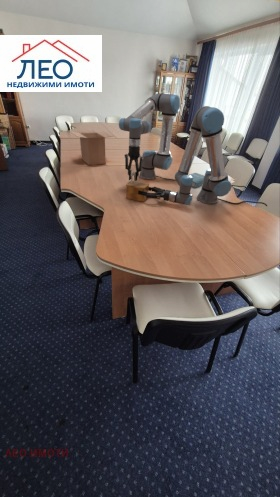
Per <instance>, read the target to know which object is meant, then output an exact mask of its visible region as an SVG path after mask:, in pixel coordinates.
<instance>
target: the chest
mask: <svg viewBox="0 0 280 497" xmlns="http://www.w3.org/2000/svg"><path fill="white" fill-rule="evenodd" d="M149 187H150V184H149V185H148V186H147V187H146V188H145V189H139V188H134V187H129V186H126V199H129V200H133V201H138V202H141V203H144V202H145V201H146V200H147V199H148V198H146V196H144V195H139V194H138V190H139V191H144V192H148V193H149V191H148V188H149Z"/></svg>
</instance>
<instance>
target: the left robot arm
mask: <svg viewBox="0 0 280 497" xmlns="http://www.w3.org/2000/svg"><path fill="white" fill-rule="evenodd" d="M180 110H181V98H180V96H179V95H178V94H174V93H162V92H160V93H159V92H158V93H155V94H153V95H151V96H149V97H148V98H147V99H146V100H145V101H144V103H143V104H142V105H141V106H139V107H138V108H137V109H136V110H134V111H133V112H132V113H131V114H129V115H128V116H127V117H126V118H125V117H121V118H119V120H118V128H119V130H120V131H124V132H129V134H128V153H125V154H124V159H125V160H124V161H125V162H124V165H125V170H127V175H128V181H131V174H132V169H131V168H132V165H133V161H134V163H135V164H134V165H135V171H134V172H135V182H138V177H139V178H140V179H142V180H146V181H154V180H156V178H160V179H162V180H166V181H173V182H174V181H175V182H176V180H175V178H174V179H173V178H167V177H162V176H160V175H159V176H158V175H157V174H156V169H160V170H164V171H167V170H169V169H170V168H171V166H172V164H173V156H172V153H171V151H170V150H171V149H170V148H171V142H172V134H173V126H174V119H175V118H176V117H177V114H179V112H180ZM154 112H160V115H161V117H162V122H161V129H160V140H159V147H158V148H159V149H158V150H153V149H151V150H150V149H149V150H145V151H143V152H142V155H141V137H142V136H141V135H146V134H148V133H150V132H151V129H152V124H151V122H150V121H148V120H144V119H145V118H146V117H148V115H150V114H153V113H154ZM231 185H232V187H237V188H244V189H247V187H246V186H245V185H235V184H231Z"/></svg>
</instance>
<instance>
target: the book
mask: <svg viewBox="0 0 280 497" xmlns="http://www.w3.org/2000/svg"><path fill="white" fill-rule="evenodd" d="M188 175H189V176H192V177H193V183H192V186H191V188H193V189H195V188H198V187H200V186H202V185H203V181H204V177H205V174H201V173H198V172H193V173H190V174H188Z"/></svg>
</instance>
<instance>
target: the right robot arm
mask: <svg viewBox="0 0 280 497" xmlns="http://www.w3.org/2000/svg"><path fill="white" fill-rule="evenodd" d="M224 123H225V115H224V113H223V111H222V110H221V109H219V108H217V107H215V106H213V107H212V106H209V105H203V106H202V107H200V108H199V109H198V110H197V111H196V112H195V115H194V116H193V119H192V122H191V125H190V128H189V129H190V133H189V137H188V139H187V143H186V146H185V148H184V152H183V155H182V158H181V161H180V164H179V167H178V170H177V171H176V173H175V174H174V180H176V181H175V182H176V183H177V184H178V186H179V190H178V191H174V190H169V189H164V188H160V187H157V186H149V188H148V192H144V191H139V190H138V194H139V195H144V196H146V198H147V199H154V200H161V199H163V201H166V202H170V203H172V204H173V203H175V204H180V205H184V206H191V204H192V202H193V198H194V197H193V194H191V191H192V187H191V186H192V183H193V177H192V176H189V175H190V174H189V173H190V170H191V167H192V165H193V161H194V159H195V157H196V155H197V154H196V153H197V150H198V148H199V145H200V142H201V139H202V138H203V139H204V140H205V141H204V142H205V146H206V153H207V158H208V164H209V169H206V170H205V173H204V176H205V177H204V181H203V185H201V189H200V191H199V192H198V194H197V197H196V199H197V201H199V202H200V203H202V204H207V205H214V204H217V203H218V201H222V202H225V203H228V204H231V205H240V204H242V203H251V204H262V205H264V206H265V207H268V204H267V203H265V202H263V201H252V200H242V201H240V202H231V201H228V200H225V199H221V197H224V196H227V195H229V193H230V191H231V190H232V188H233V186H232V185H233V184H232V183H231V181H230V180H229V174H228V172H227V171H226V170H225V163H224V155H223V154H224V152H223V146H222V138H221V137H222V136H221V134H222V132H223V126H224Z"/></svg>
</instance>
